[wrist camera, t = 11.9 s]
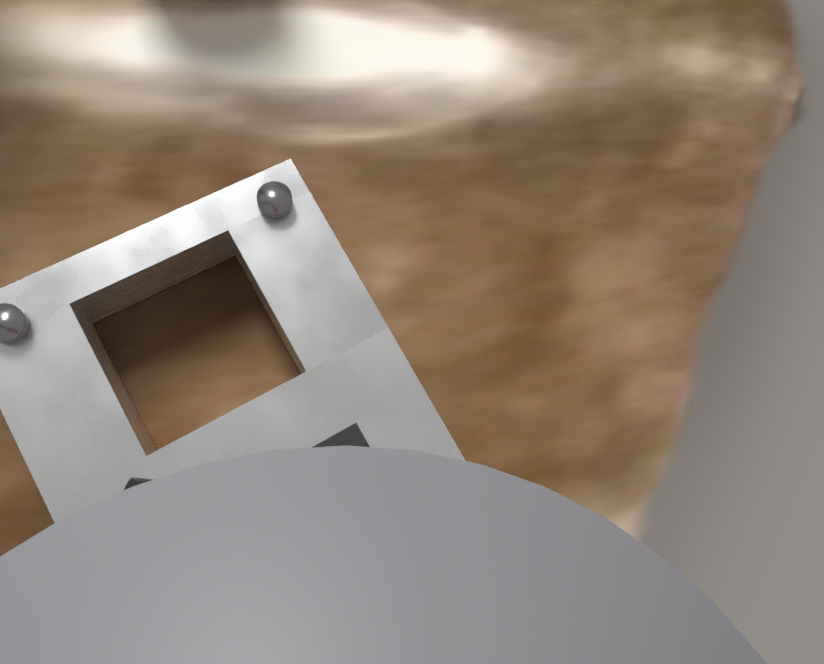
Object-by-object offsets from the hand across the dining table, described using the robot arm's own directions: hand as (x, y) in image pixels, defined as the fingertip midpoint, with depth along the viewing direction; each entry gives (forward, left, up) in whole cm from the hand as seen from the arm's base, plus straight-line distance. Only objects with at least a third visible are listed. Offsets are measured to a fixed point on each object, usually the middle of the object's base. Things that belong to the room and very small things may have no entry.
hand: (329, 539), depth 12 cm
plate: (-4, -1, -18) cm, 19 cm away
